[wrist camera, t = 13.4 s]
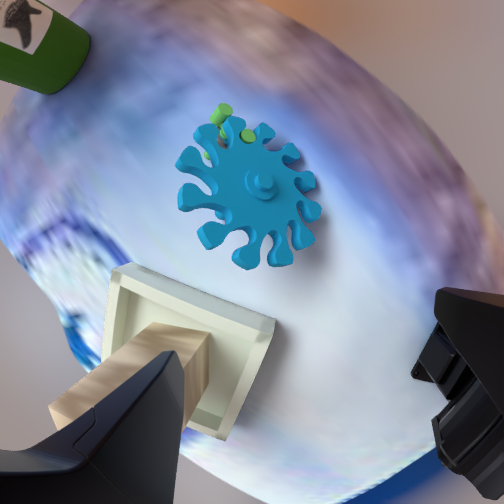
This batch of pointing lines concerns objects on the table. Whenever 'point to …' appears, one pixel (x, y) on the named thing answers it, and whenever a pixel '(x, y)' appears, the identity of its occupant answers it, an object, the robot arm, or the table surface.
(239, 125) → the gear
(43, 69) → the wine bottle
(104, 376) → the maple block
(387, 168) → the table surface
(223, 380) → the sage tray
